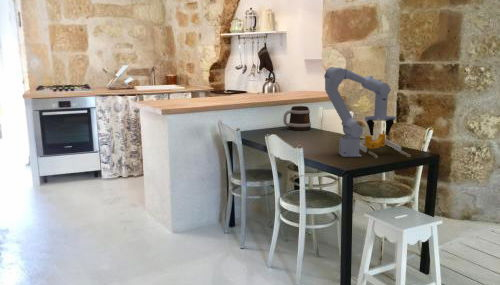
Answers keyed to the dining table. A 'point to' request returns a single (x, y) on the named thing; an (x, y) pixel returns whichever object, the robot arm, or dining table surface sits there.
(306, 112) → the mug
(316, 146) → the dining table surface
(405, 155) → the slot guide
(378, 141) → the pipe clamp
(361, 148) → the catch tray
